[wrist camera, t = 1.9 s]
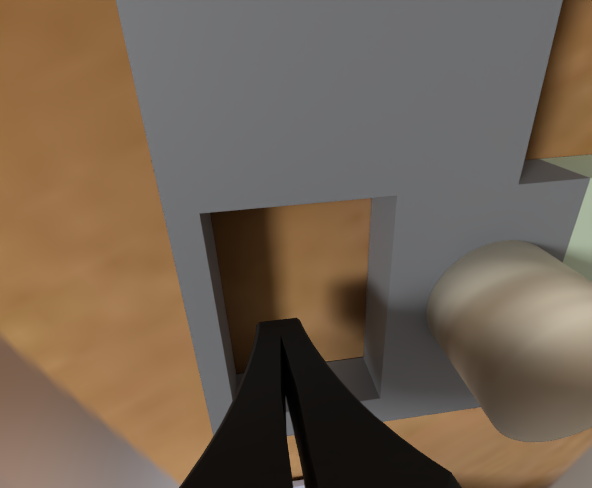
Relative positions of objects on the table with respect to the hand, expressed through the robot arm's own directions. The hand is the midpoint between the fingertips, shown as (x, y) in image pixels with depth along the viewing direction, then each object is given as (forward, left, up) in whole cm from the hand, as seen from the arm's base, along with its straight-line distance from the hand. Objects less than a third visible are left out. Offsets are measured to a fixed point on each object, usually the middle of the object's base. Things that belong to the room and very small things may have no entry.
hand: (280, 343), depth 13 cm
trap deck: (+2, -7, -3) cm, 8 cm away
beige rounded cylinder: (0, -8, -1) cm, 8 cm away
